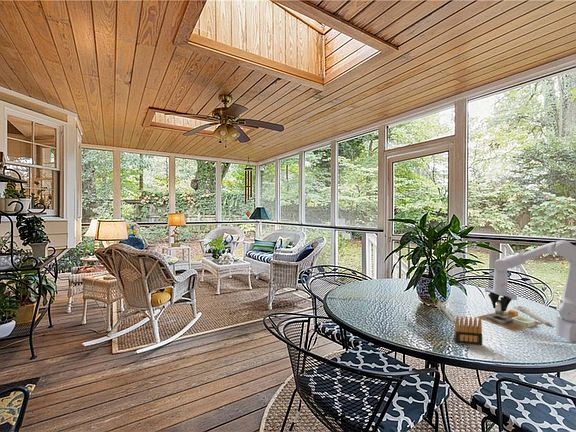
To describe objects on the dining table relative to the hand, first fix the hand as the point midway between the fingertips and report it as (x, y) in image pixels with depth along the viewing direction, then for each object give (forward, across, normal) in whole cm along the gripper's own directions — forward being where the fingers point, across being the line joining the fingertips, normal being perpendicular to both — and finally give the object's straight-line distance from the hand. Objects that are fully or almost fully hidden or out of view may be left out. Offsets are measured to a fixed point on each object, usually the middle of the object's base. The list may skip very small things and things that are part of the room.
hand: (499, 309), depth 147 cm
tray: (+7, -6, -8) cm, 12 cm away
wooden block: (+6, +1, -8) cm, 10 cm away
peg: (+2, 0, 0) cm, 2 cm away
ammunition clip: (+7, -10, +34) cm, 37 cm away
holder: (+7, -1, -5) cm, 9 cm away
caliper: (+7, +16, +18) cm, 25 cm away
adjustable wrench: (+8, 0, -25) cm, 26 cm away
